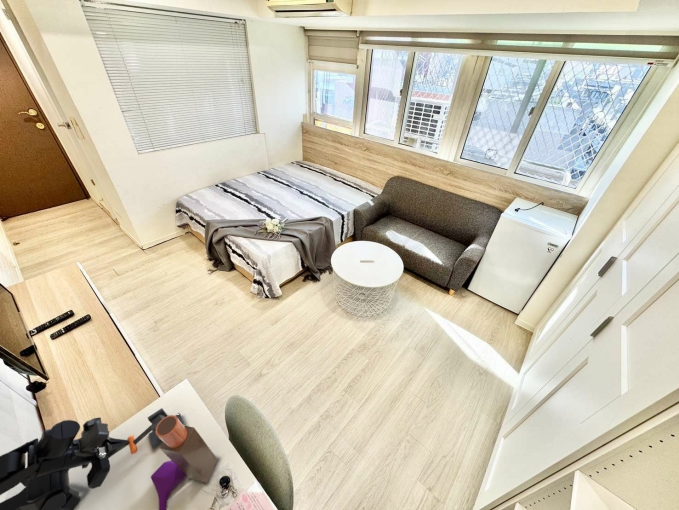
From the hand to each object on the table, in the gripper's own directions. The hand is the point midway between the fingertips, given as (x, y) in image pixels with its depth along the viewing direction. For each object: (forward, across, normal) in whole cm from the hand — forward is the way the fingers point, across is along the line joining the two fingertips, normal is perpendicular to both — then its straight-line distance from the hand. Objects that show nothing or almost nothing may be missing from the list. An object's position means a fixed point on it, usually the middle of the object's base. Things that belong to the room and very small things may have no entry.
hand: (128, 442), depth 84 cm
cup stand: (+15, -20, -4) cm, 25 cm away
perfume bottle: (+8, -14, -4) cm, 16 cm away
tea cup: (-2, -20, -22) cm, 29 cm away
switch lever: (+5, 0, -2) cm, 5 cm away
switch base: (+12, 0, -1) cm, 12 cm away
